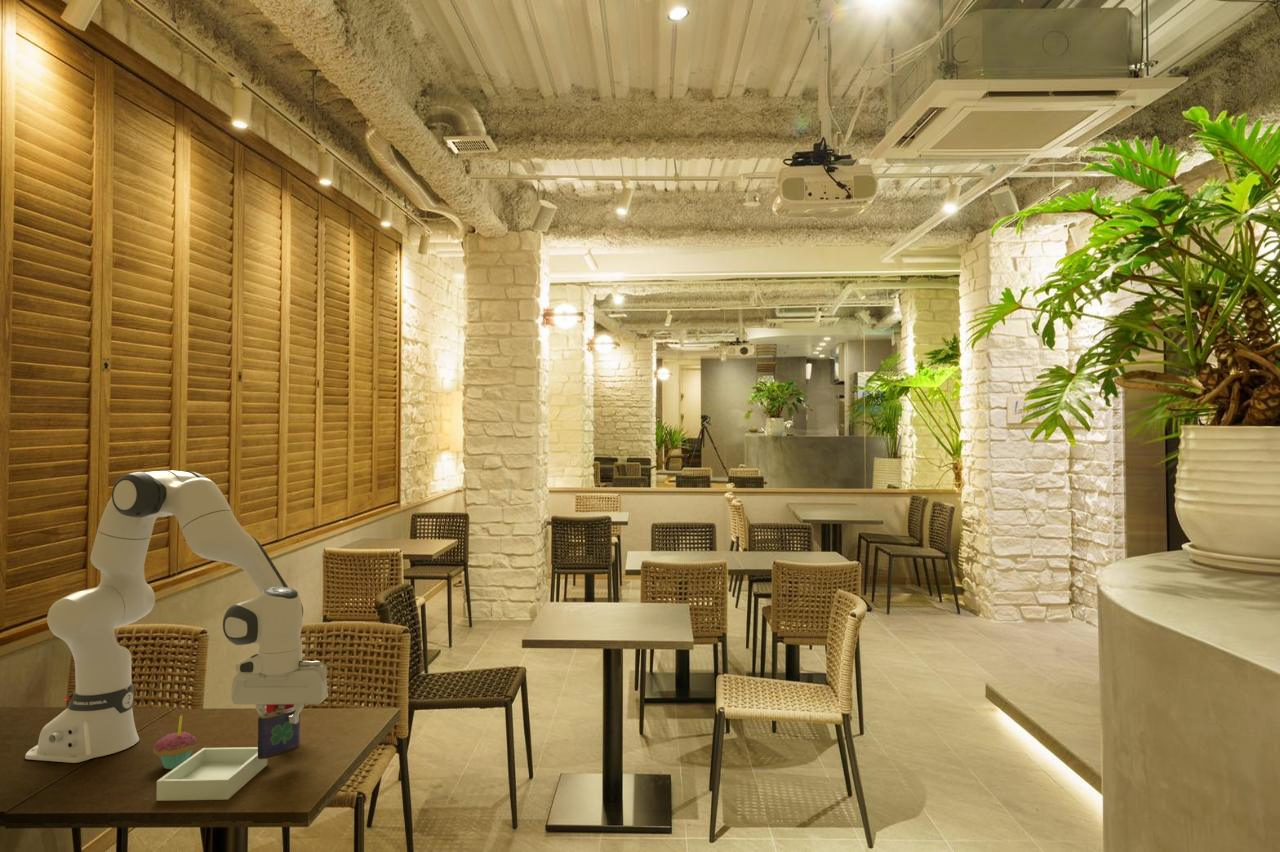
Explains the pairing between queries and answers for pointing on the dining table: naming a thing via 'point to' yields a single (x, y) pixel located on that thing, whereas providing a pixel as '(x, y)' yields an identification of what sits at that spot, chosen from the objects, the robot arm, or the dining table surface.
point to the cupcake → (175, 747)
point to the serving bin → (211, 774)
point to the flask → (277, 733)
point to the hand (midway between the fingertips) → (279, 723)
